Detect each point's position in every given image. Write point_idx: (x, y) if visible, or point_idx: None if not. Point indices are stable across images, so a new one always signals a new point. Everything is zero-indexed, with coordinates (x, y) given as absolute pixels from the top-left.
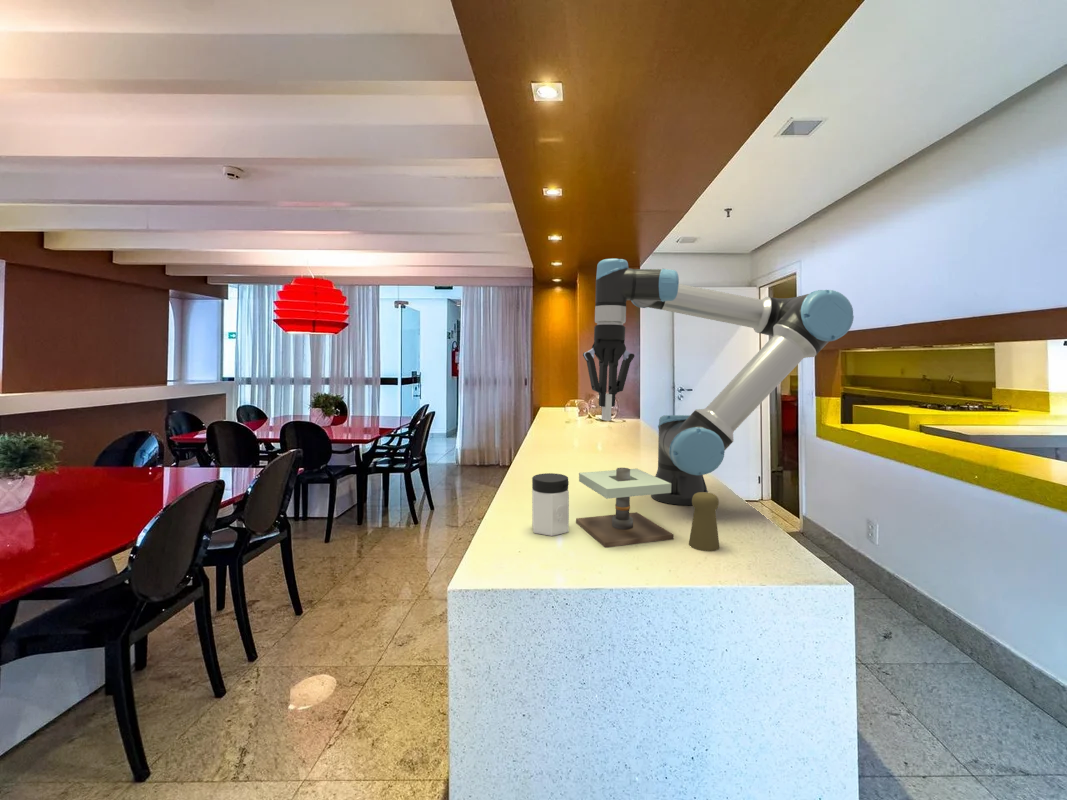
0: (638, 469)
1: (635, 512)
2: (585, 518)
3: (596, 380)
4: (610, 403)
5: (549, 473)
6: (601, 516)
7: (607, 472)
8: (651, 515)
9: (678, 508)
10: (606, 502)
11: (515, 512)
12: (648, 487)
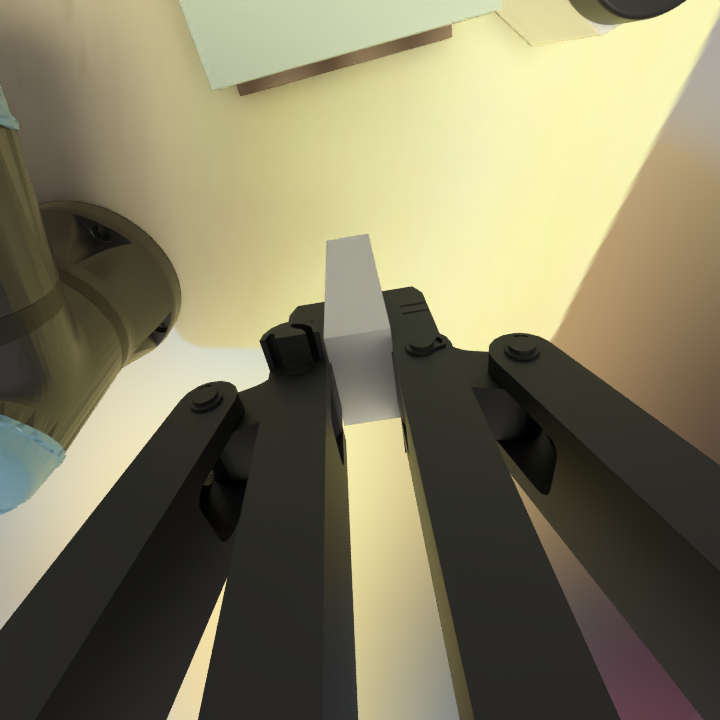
0: (204, 65)
1: (245, 93)
2: (422, 33)
3: (594, 424)
4: (336, 292)
5: (636, 10)
6: (365, 54)
7: (367, 1)
8: (193, 102)
9: (100, 175)
10: (316, 248)
11: (587, 166)
12: None
